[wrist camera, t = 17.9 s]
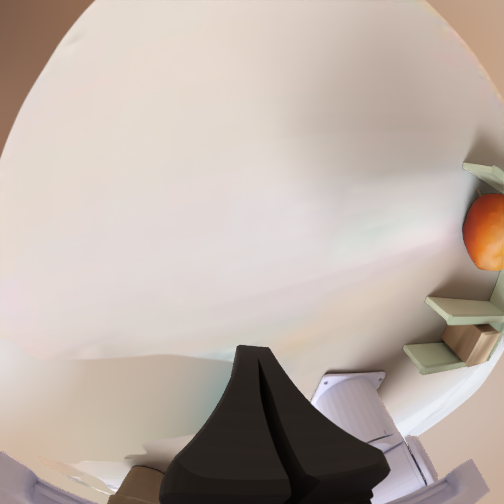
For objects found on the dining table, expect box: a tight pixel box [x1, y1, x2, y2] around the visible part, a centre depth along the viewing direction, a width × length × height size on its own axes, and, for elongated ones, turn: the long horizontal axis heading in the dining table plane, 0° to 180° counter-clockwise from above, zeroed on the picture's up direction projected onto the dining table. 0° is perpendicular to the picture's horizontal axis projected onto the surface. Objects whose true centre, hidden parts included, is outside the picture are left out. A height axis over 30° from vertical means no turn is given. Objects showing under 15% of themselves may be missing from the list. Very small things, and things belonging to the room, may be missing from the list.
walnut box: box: [441, 324, 501, 367], centre depth 22 cm, size 4×4×6 cm
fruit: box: [462, 188, 504, 271], centre depth 18 cm, size 8×8×8 cm
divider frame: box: [403, 163, 504, 375], centre depth 21 cm, size 21×15×4 cm
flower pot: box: [107, 466, 164, 504], centre depth 27 cm, size 12×11×10 cm
